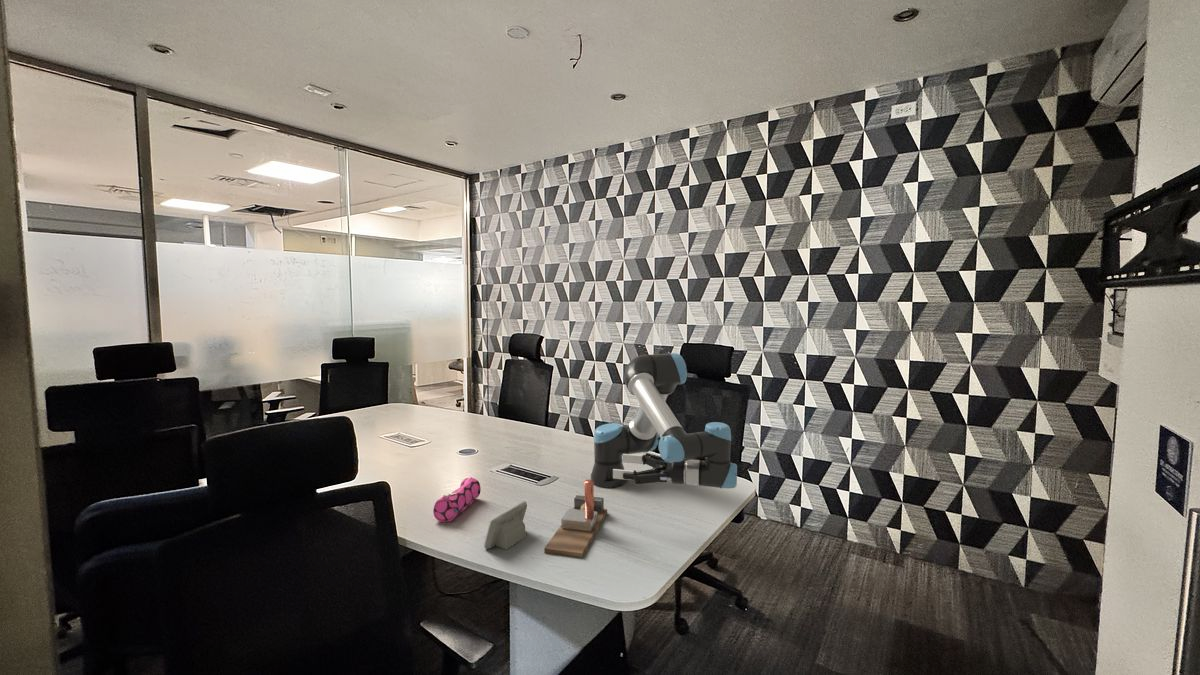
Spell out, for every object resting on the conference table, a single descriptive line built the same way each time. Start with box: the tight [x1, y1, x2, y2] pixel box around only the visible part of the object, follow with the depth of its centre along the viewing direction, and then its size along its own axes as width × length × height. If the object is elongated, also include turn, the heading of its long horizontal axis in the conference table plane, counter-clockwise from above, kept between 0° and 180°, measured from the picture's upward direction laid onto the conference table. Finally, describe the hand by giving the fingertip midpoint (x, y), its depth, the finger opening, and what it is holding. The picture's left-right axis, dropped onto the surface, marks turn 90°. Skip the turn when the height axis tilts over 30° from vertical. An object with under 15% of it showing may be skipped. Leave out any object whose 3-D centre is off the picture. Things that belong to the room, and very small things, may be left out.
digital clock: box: [483, 500, 528, 550], centre depth 152 cm, size 16×9×11 cm, turn 137°
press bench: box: [543, 494, 608, 559], centre depth 157 cm, size 30×12×6 cm, turn 165°
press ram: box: [560, 479, 597, 532], centre depth 158 cm, size 8×10×15 cm
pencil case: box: [432, 476, 482, 523], centre depth 174 cm, size 21×10×10 cm, turn 170°
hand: (618, 465), depth 153 cm, fingers open, 13 cm apart
